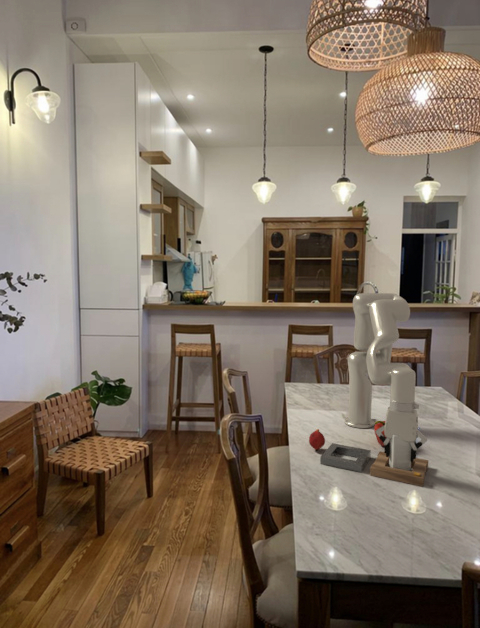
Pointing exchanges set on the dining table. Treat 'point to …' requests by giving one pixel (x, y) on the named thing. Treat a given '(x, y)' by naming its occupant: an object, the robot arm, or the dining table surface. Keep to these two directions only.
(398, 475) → the frame
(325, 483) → the dining table surface
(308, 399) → the dining table surface
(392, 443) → the skincare box
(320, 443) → the onion
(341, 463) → the gray square frame
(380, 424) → the vegetable
